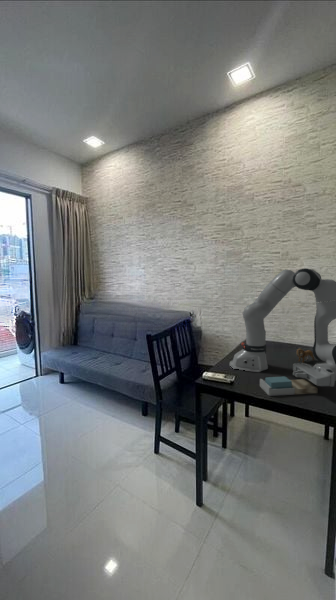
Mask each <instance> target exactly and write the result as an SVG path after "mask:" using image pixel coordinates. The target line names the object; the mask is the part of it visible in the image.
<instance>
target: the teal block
mask: <svg viewBox="0 0 336 600" xmlns="http://www.w3.org/2000/svg"><path fill="white" fill-rule="evenodd" d="M291 380H292V379H289V378H288V377H287V376H285V375H284V376H283V375H282V376H269V377H267V376H266V377H265V378H264V381H265V382H266V383H267V384H268V385H269V386H270V387H271V389H282V388H292V381H291Z"/></svg>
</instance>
